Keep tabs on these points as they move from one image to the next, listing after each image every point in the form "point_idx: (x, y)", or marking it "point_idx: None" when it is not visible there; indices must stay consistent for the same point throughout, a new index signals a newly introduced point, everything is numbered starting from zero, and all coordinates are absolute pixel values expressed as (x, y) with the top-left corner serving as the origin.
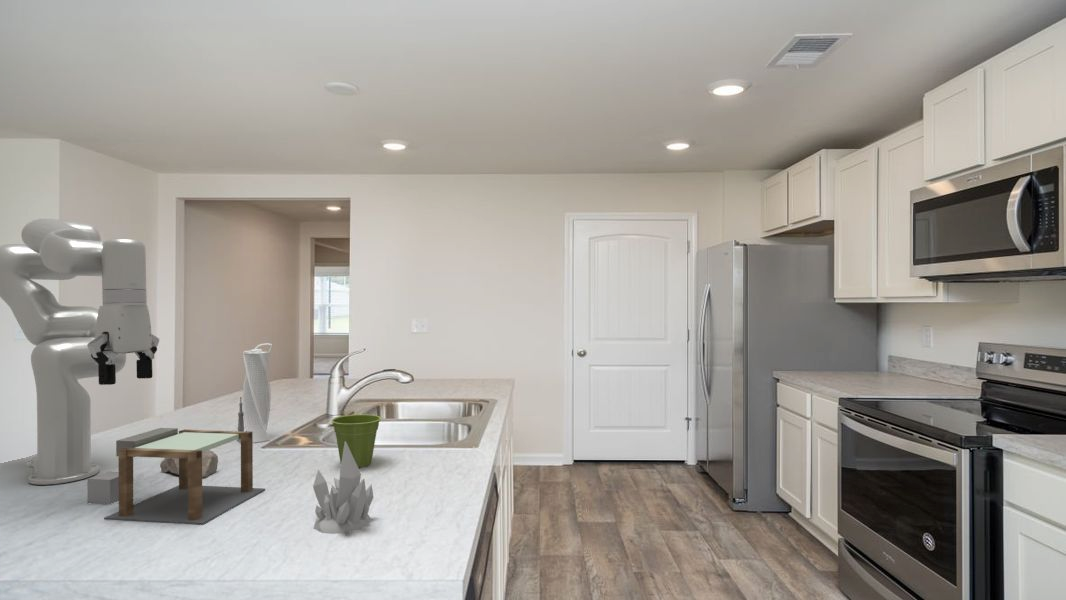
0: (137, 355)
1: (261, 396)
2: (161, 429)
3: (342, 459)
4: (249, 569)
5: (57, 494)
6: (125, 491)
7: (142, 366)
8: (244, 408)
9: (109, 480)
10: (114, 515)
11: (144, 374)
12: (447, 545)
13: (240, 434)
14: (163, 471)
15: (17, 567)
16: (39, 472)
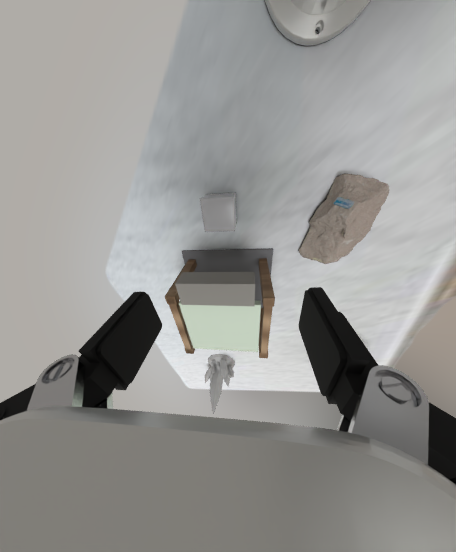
0: (361, 402)
1: None
2: (245, 291)
3: (211, 401)
4: (167, 350)
5: (223, 100)
6: None
7: (317, 348)
8: None
9: (205, 230)
10: (188, 255)
11: (305, 322)
12: None
13: (260, 351)
14: (334, 182)
15: (111, 265)
16: None
